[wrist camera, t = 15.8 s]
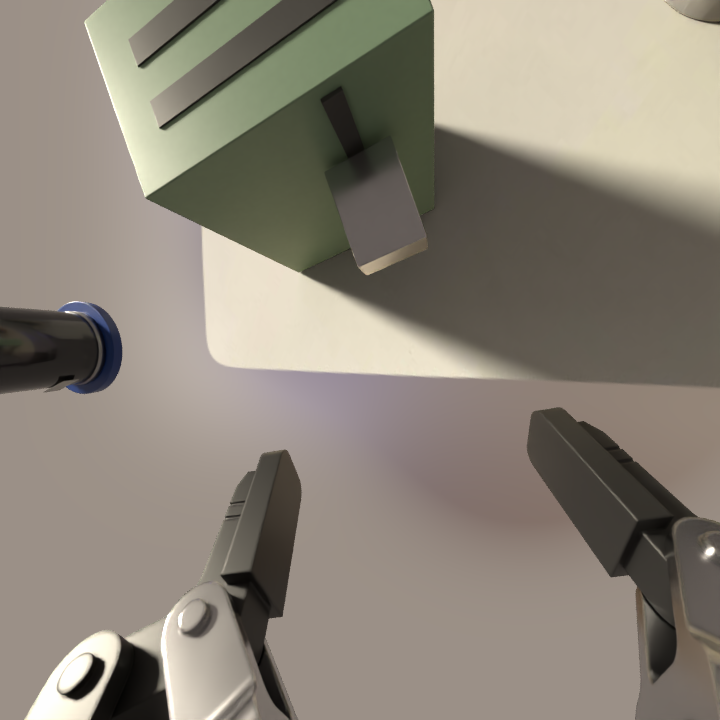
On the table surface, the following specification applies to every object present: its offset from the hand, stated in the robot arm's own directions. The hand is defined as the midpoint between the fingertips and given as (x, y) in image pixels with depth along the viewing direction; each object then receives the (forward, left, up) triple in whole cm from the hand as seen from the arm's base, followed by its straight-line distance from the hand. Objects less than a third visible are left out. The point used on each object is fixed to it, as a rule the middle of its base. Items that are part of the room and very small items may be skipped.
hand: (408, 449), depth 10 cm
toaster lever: (-3, +10, -6) cm, 12 cm away
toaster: (-8, +15, -16) cm, 24 cm away
